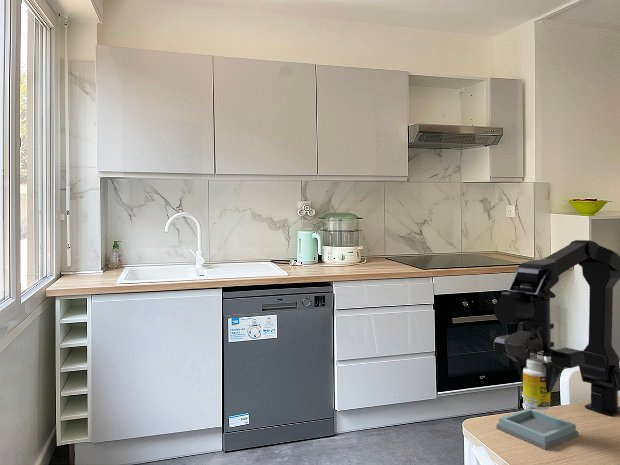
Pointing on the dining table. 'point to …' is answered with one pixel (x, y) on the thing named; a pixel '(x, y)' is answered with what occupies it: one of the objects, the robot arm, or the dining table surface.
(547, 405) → the supplement bottle
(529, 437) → the tray
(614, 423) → the dining table surface
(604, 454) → the dining table surface
